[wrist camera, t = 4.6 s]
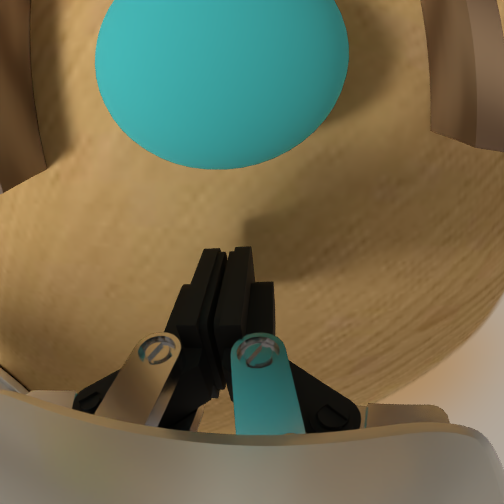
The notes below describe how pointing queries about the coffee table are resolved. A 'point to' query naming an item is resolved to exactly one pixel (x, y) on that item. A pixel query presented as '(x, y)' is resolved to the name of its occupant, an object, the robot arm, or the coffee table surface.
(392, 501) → the robot arm
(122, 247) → the coffee table surface
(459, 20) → the bumper lane
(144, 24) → the ball
